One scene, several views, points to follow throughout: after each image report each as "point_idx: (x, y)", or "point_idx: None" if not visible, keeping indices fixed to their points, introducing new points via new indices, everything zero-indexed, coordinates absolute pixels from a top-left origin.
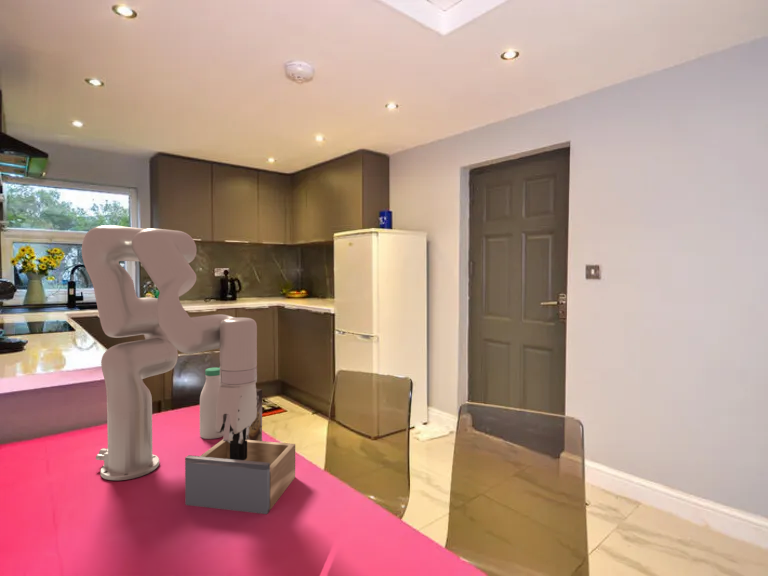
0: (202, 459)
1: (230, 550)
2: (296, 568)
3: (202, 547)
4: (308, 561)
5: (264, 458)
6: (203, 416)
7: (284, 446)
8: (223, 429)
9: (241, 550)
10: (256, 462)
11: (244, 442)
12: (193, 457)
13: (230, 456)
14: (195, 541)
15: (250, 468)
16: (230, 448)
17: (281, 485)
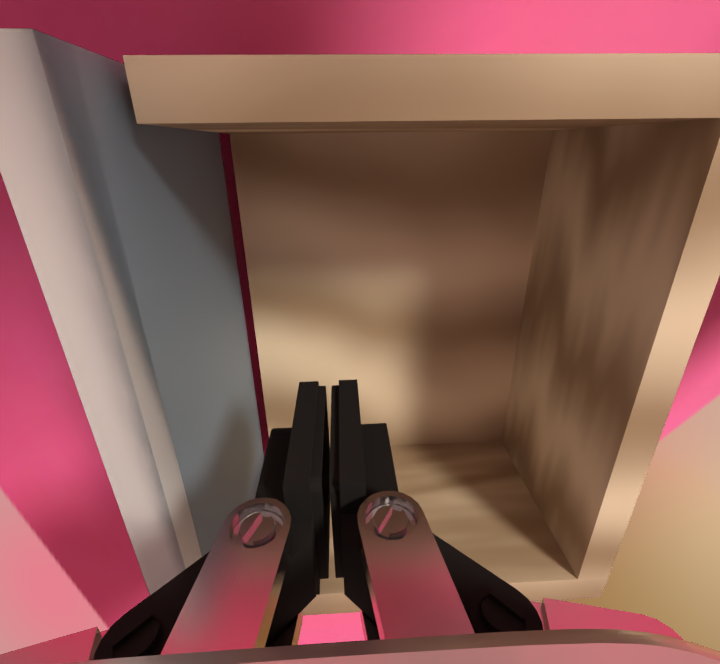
0: (38, 278)
1: (53, 431)
2: (82, 589)
3: (14, 344)
4: (118, 601)
5: (561, 394)
6: None
7: (578, 554)
8: (131, 661)
9: (70, 458)
10: None
11: (337, 577)
12: (17, 145)
13: (298, 398)
14: (26, 300)
15: None
16: (291, 444)
17: None
